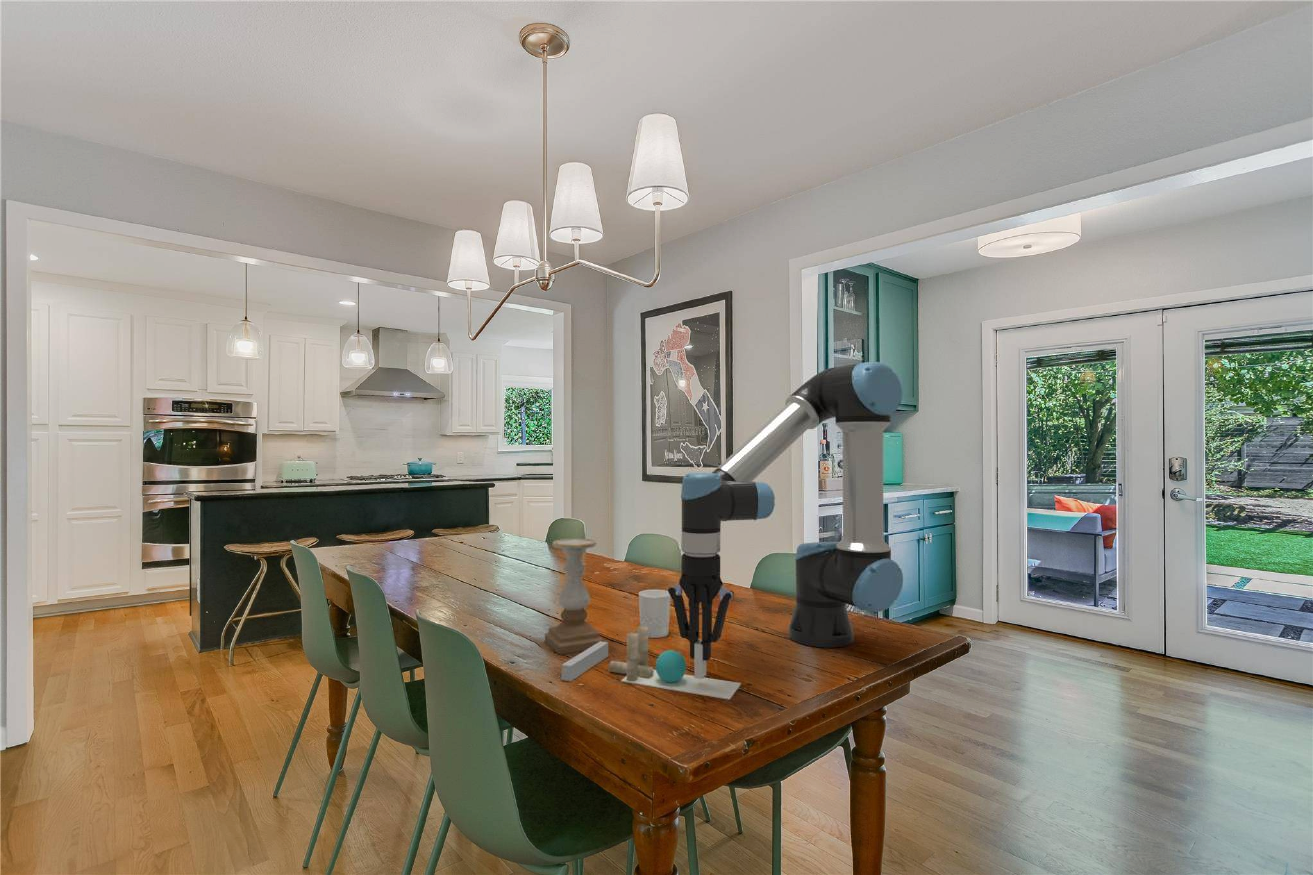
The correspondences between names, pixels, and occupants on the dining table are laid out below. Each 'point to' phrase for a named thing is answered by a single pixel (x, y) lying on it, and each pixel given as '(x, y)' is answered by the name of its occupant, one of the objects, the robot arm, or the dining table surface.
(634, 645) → the pin
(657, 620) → the white cup
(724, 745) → the dining table surface
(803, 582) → the robot arm
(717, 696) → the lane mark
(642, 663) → the pin
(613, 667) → the pin front
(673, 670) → the ball
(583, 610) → the candle holder
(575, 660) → the wall
